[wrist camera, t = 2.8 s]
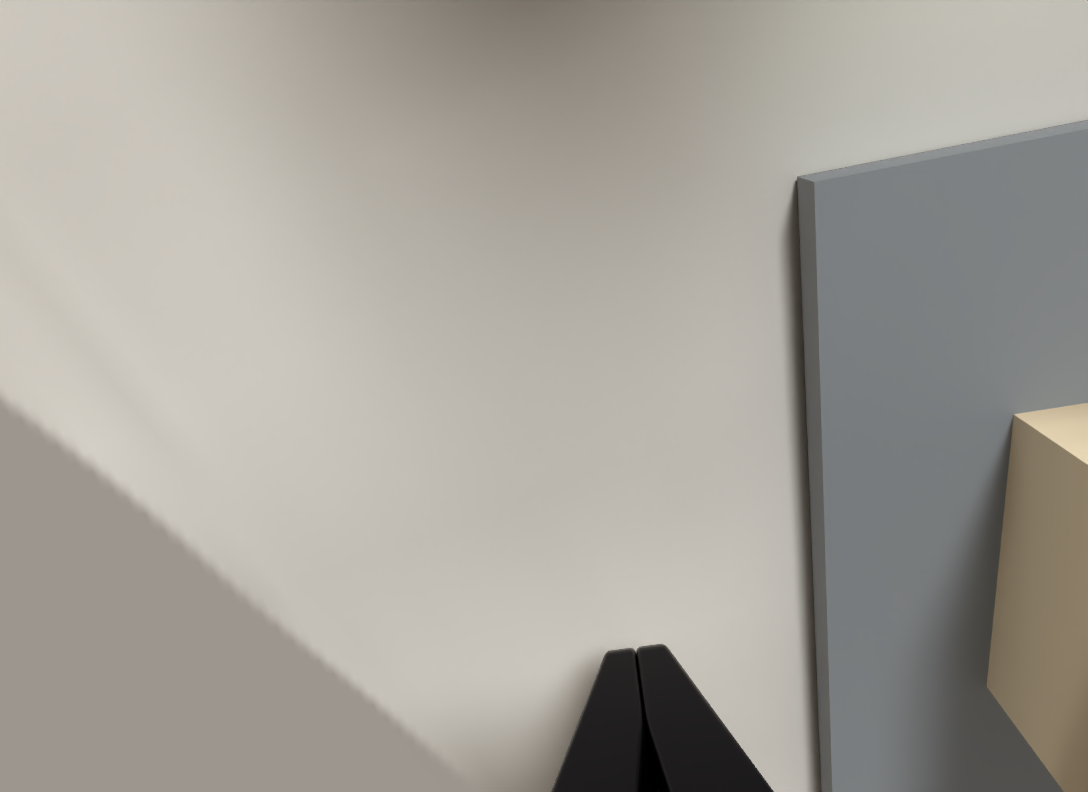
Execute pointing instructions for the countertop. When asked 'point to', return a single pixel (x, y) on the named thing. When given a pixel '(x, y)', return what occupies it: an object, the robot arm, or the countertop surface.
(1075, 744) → the beech block
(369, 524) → the countertop surface
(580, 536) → the countertop surface
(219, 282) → the countertop surface
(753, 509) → the countertop surface
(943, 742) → the runner mat
